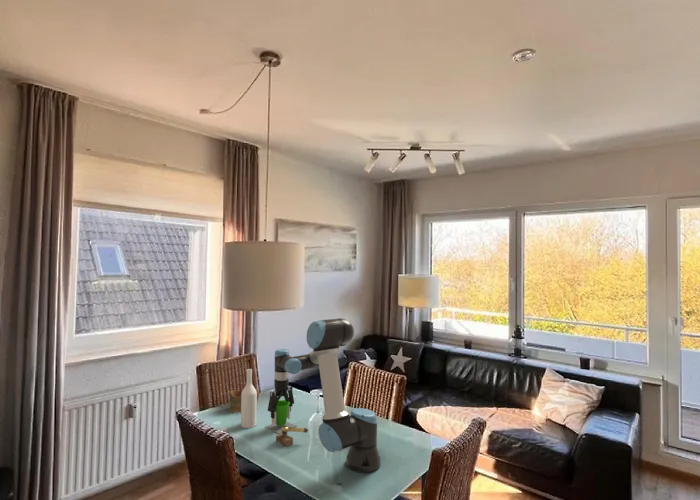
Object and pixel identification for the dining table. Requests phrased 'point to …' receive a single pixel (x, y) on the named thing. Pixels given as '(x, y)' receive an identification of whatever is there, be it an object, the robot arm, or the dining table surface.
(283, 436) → the brown wooden block
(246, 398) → the bottle
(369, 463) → the robot arm
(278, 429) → the felt pad
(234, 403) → the mug
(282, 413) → the cup
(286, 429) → the lever
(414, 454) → the dining table surface
